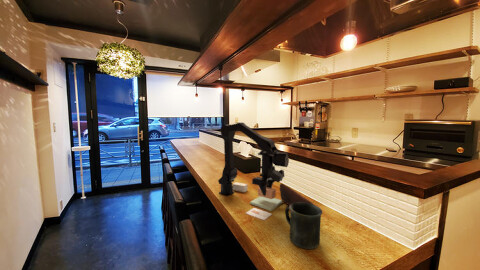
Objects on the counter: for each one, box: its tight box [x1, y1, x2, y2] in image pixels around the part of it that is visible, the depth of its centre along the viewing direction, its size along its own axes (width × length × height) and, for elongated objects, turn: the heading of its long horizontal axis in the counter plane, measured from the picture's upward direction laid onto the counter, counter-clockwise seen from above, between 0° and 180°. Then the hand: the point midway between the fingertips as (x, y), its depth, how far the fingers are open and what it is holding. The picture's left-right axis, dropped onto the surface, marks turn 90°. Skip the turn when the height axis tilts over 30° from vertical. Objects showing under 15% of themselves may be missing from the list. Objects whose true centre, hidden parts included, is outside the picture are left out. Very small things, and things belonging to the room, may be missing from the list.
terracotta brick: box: [257, 186, 277, 199], centre depth 102 cm, size 8×4×4 cm, turn 54°
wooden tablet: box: [279, 182, 315, 206], centre depth 94 cm, size 26×2×10 cm, turn 21°
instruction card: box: [245, 207, 273, 221], centre depth 91 cm, size 10×7×1 cm
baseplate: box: [249, 196, 283, 212], centre depth 102 cm, size 12×12×1 cm
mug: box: [284, 202, 323, 250], centre depth 72 cm, size 11×15×12 cm
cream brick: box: [232, 181, 248, 193], centre depth 120 cm, size 8×4×4 cm, turn 63°
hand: (266, 194), depth 102 cm, fingers closed on terracotta brick, 4 cm apart
